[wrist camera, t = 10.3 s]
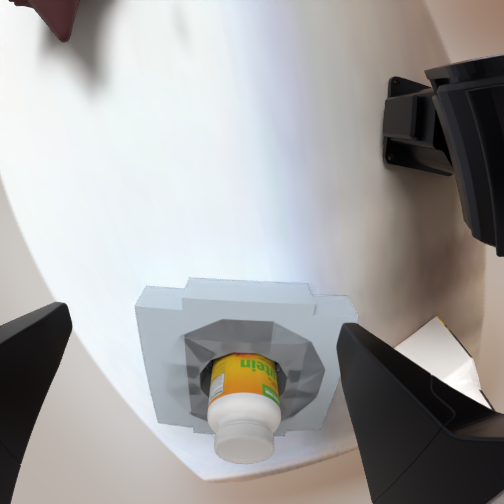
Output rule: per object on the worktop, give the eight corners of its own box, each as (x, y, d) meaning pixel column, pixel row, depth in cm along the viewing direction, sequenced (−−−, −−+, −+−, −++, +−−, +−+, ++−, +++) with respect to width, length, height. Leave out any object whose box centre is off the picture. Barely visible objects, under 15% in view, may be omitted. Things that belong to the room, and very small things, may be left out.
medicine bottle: (452, 350, 27) (505, 425, 16) (401, 387, 29) (440, 471, 18) (436, 313, 25) (503, 398, 14) (377, 357, 26) (424, 455, 15)
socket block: (350, 284, 23) (362, 304, 20) (313, 412, 29) (318, 434, 26) (144, 274, 23) (132, 293, 20) (164, 407, 29) (159, 428, 26)
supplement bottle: (286, 351, 26) (301, 442, 17) (254, 387, 27) (257, 473, 18) (232, 326, 25) (227, 421, 16) (203, 366, 26) (190, 455, 17)
